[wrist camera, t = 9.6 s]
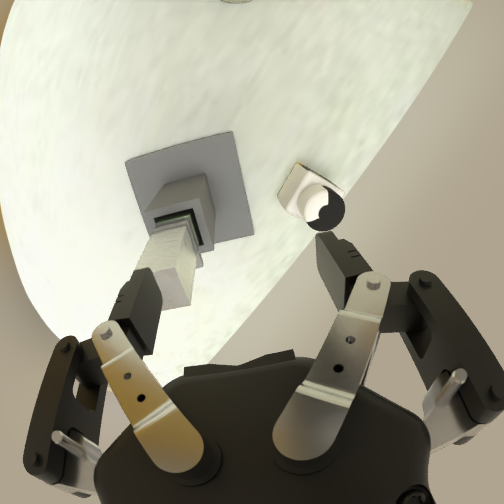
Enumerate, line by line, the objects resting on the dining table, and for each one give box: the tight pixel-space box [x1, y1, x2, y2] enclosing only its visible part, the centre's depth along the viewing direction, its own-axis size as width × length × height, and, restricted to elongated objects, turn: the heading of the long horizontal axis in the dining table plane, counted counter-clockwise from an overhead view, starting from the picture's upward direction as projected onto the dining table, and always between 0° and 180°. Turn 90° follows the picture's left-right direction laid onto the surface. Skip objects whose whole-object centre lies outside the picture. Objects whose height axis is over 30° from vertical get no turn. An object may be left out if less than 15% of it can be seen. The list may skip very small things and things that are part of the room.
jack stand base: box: [125, 132, 254, 269], centre depth 39 cm, size 18×18×14 cm
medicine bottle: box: [277, 163, 345, 231], centre depth 41 cm, size 7×7×12 cm
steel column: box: [135, 208, 200, 311], centre depth 30 cm, size 4×4×18 cm
